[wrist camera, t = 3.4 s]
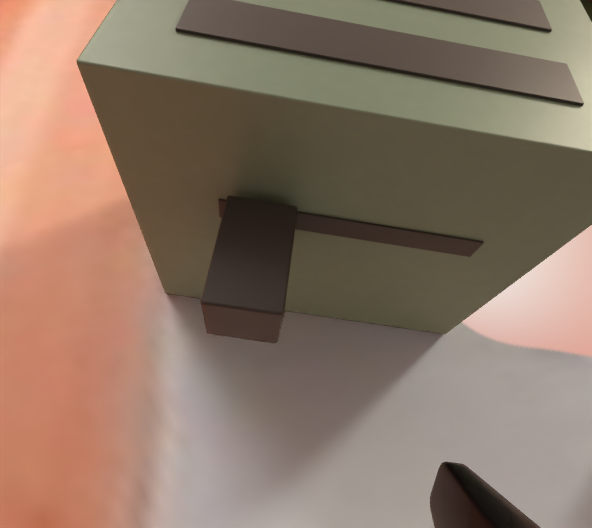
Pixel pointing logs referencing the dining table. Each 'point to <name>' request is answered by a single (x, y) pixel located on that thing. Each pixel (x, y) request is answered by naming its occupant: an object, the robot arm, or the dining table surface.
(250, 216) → the slider
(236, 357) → the dining table surface
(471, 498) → the robot arm
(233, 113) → the toaster
